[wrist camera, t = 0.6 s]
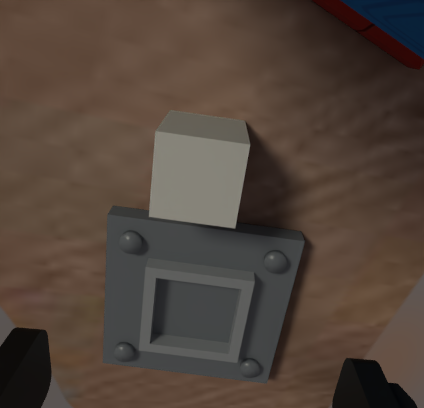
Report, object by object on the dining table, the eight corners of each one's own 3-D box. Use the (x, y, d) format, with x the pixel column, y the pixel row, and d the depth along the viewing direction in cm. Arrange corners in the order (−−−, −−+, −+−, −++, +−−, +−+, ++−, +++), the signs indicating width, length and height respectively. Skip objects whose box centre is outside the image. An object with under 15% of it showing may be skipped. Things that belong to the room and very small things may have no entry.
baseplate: (113, 205, 29) (102, 222, 26) (301, 231, 29) (308, 250, 27) (107, 349, 35) (98, 374, 32) (265, 369, 35) (268, 395, 32)
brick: (170, 109, 26) (155, 131, 20) (245, 120, 26) (250, 144, 21) (163, 180, 28) (148, 216, 23) (233, 189, 28) (235, 228, 23)
